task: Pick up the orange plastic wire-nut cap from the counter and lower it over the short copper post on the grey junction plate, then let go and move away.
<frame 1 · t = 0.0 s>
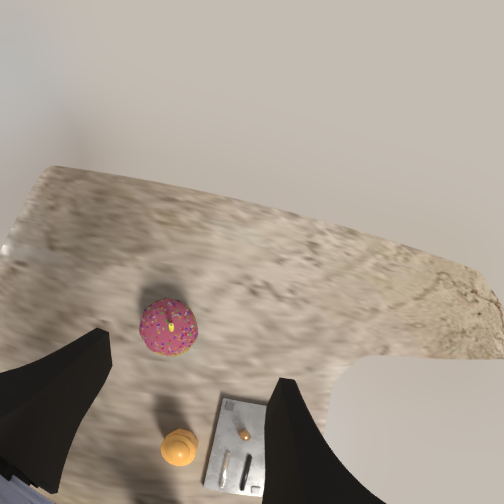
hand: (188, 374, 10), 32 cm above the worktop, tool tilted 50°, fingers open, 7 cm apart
junction plate: (242, 449, 34), on the worktop
wire nut: (182, 442, 33), on the worktop
cupcake: (172, 333, 42), on the worktop
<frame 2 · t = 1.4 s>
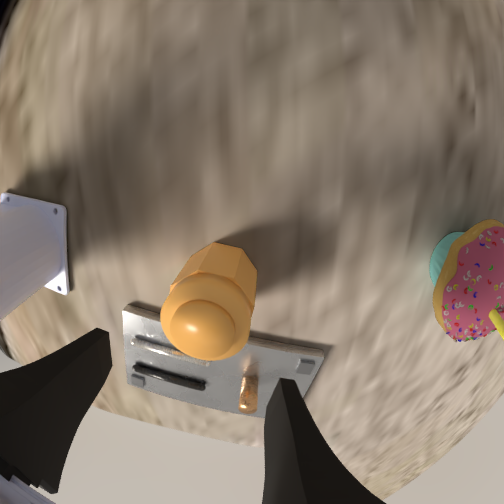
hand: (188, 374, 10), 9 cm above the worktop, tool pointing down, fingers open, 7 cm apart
junction plate: (215, 369, 22), on the worktop
wire nut: (221, 276, 19), on the worktop
cupcake: (450, 257, 18), on the worktop
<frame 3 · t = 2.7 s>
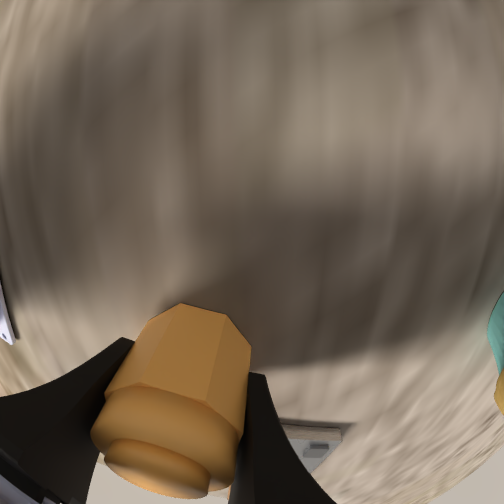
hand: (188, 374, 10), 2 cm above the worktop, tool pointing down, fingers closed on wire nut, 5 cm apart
junction plate: (198, 444, 15), on the worktop
wire nut: (196, 350, 12), on the worktop, touching gripper
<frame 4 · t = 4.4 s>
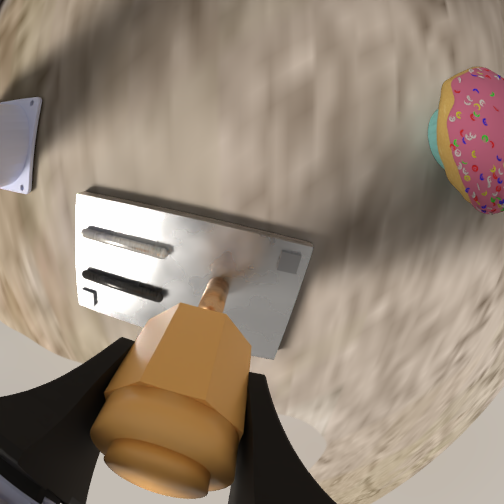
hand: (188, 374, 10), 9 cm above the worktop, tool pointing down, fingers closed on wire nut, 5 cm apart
junction plate: (177, 276, 19), on the worktop
wire nut: (196, 349, 12), point 7 cm above the worktop, touching gripper
cupcake: (450, 137, 14), on the worktop
when the fingers open (4 cm above the worktop, at t = 5.9 s): wire nut drops 1 cm, resting on junction plate.
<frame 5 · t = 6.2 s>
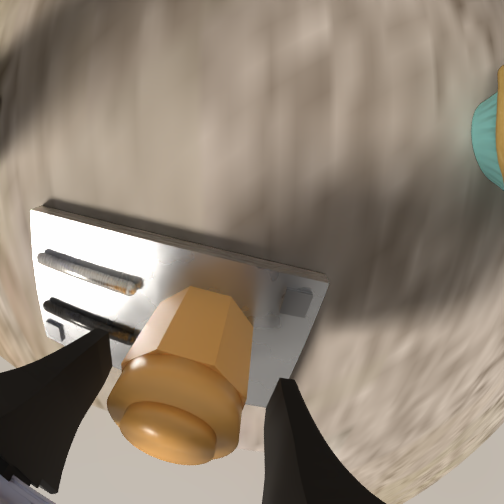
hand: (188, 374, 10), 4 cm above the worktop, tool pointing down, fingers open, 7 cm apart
junction plate: (152, 312, 14), on the worktop
wire nut: (202, 330, 13), point 1 cm above the worktop, touching junction plate
cupcake: (493, 139, 10), on the worktop
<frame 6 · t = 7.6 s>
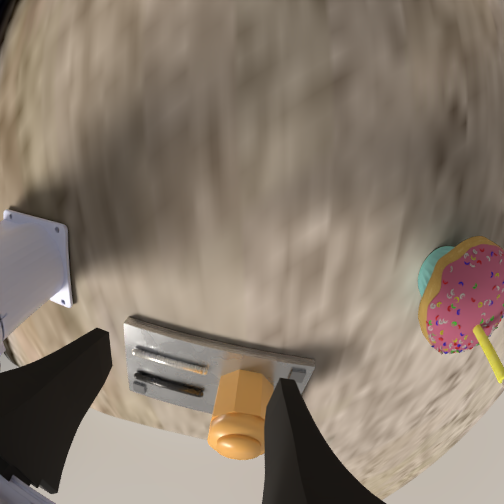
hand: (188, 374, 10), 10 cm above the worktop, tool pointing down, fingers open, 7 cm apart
junction plate: (212, 377, 23), on the worktop
wire nut: (245, 388, 22), point 1 cm above the worktop, touching junction plate
cupcake: (439, 270, 19), on the worktop
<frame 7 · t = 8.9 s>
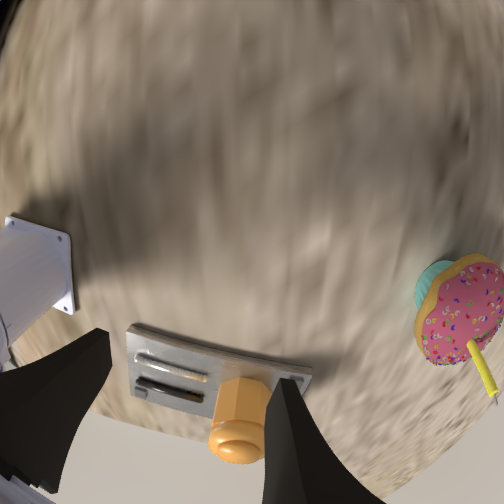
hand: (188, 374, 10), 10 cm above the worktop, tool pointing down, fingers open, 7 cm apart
junction plate: (212, 384, 24), on the worktop
wire nut: (244, 395, 22), point 1 cm above the worktop, touching junction plate
cupcake: (436, 283, 19), on the worktop
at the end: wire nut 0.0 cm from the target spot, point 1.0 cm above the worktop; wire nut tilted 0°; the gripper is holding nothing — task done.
